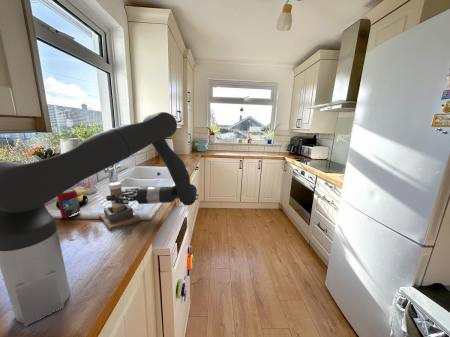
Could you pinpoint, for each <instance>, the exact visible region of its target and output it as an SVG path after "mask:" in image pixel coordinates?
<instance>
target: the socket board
mask: <svg viewBox="0 0 450 337" xmlns="http://www.w3.org/2000/svg"><path fill="white" fill-rule="evenodd" d="M103 211H104V213H105V214H100V216H99V218H100V217H101V218H100V219H101V221H102V222H103V223H104V225H105V227H106V228H107V230H108V231H109V232H111V231H114V230H117V229H119V228H120V229H121V228H122V227H126V226H130V225H132V224H136V223H138V222H141V221H142V218H141V216H140V215H138V214H137V215H133V211H134V210H133V208H132V207H131V206H130V205H129V204H124V210H122V211H119V212H115V213H113V207H112V205H110V206H108V207H104V208H103Z"/></svg>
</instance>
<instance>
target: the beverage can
mask: <svg viewBox="0 0 450 337" xmlns="http://www.w3.org/2000/svg"><path fill="white" fill-rule="evenodd" d="M56 198H57V201H58V207H59V211H60V215H61V218H63V217H64V219H69V218H68V217H69V216H71V215H72V214H74V213H77V212H79V211H80V212H81V208H80V207H81V206H80V202H79V201H80V200H79V197H78V192H77V191H76V190H75V188H69V189H68V190H66V191H64V192H63V193H61V194H60V195H58V196H57V197H56Z"/></svg>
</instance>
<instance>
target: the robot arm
mask: <svg viewBox="0 0 450 337" xmlns="http://www.w3.org/2000/svg"><path fill="white" fill-rule="evenodd" d="M177 128H178V122H177V120H176V118H175V116H174V115H173V114H171V113H169V112H166V111H164V112H163V111H162V112H157V113H153V114H149V115H147V116H145V117H144V119H143V120H142V122H136V123H129V124H126V125H121V126H117V127H113V128H110V129H106V130H102V131H100V132H97V133H95V134H92V135H91V136H89V137H87V138H85V139H84V140H82V141H81V142H80V143H78V144H77V145H75V147H73V148H71V149H69V150H68V151H66V152H63V153H60V154H58V155H57V154H56V155H54V156H51V157H47V158H44V159H41V160H37V161H33V162H29V163H23V162H17V161H0V272H1V275H2V279H3V282H4V286H5V288H6V292H7V296H8V298H9V302H10V305H11V308H12V311H13V314H14V317H15V320H16V322H18V321H19V322H18V323H20V322H21V323H20V324H23V325H24V327H25V328H27V327H29V326H30V325H29V324H31V323H33V322H34V321H36V320H38V319H40V318H42V317H44V316H46V315H48V314H50V313H52V312H54V311H56V310H58V309H60V308H62V307H64V308H65V303H66V302H67V300H68V299H69V298H70V295H71V289H70V284H69V279H68V274H67V269H66V266H65V261H64V255H63V252H62V247H61V241H60V237H59V232H58V227H57V223H56V220H55V218H54V217H53V215H52V214H51V213H50V212H49V210H48V209H47V207H46V206H45V205H46V204H47V203H49V202H50V201H53V199H55V198H58V197H57V196H58V195H60V194H61V193H63V192H64V191H66V190H68V189H72V187H73V186H75V185H77V184H79V183H80V182H82V181H83V180H85V179H88V178H90V177H91V176H94V175H95V174H98V173H100V172H102V171H104V170H106V169H108V168H109V167H112V166H114V165H116V164H118V163H120V162H122V161H124V160H126V159H127V158H130V157H131V156H133V155H135V154H137V153H138V152H139V151H140V152H141V151H142V150H143V149H145V148H146V147H148V146H150V145H152V147H153V148H154V149H155V151H156V152H157V154H158V155H159V157H160V158H161V160H162V161H163V163H164V165H165V167H167V170H168V173H169V175H170V177H171V179H172V180H173V183H174V185H173V186H140V187H134V188H124V189H123V190H122V195H111V194H109V195H108V194H107V195H106V196H105V197H106V201H107V202H110V201H115V203H118V204H128V205H129V203H130V202H137V204H139V205H149V204H151V205H152V204H154V205H155V204H163V203H164V204H165V203H170V204H171V203H173V202H175V200H176V199H178V200H179V201H180V203H181V204H183V205H185V206H192V205H193V204H194V203H195V202H196V200H197V192H198V191H197V190H198V189H197V187H196V185H194V184H192V183H191V176H190V174H189V171H188V169H187V166H186V164H185V162H184V161H183V160H182V158H181V157H180V156H178V154H177V153H176V152H175V151H174V150H173V149H172V148H171V147H170V145H169V144H168V143H167V141H166V139H167V138H170V137H172V136H173V135H174V134H175V133H176V131H177ZM62 309H63V308H62ZM60 310H61V309H60ZM58 311H59V310H58ZM33 324H34V323H33ZM28 325H29V326H28ZM31 325H32V324H31ZM26 326H27V327H26Z"/></svg>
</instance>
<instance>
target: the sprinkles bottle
mask: <svg viewBox="0 0 450 337" xmlns="http://www.w3.org/2000/svg"><path fill="white" fill-rule="evenodd" d="M122 187H123V186H122V182H118V181H117V182H112V183H109V184H108V189H109V192H110V195H122V191H123V190H122ZM110 203H111V206H112V207H113V213H115V212H119V211H122V210H124V204H118V203H115V201H111V202H110Z"/></svg>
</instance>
